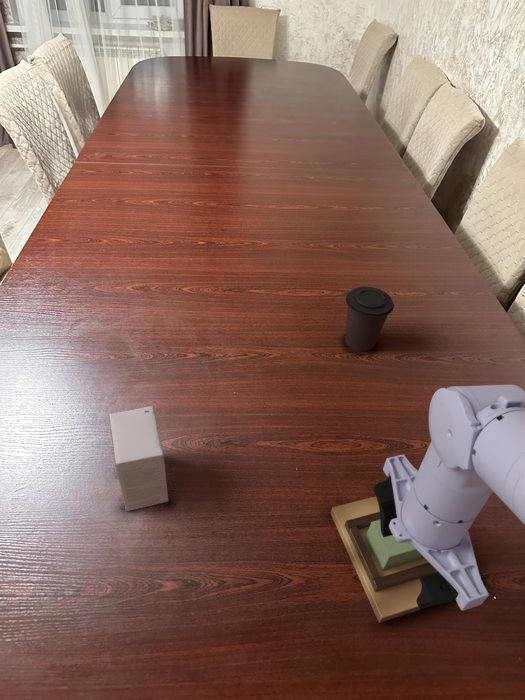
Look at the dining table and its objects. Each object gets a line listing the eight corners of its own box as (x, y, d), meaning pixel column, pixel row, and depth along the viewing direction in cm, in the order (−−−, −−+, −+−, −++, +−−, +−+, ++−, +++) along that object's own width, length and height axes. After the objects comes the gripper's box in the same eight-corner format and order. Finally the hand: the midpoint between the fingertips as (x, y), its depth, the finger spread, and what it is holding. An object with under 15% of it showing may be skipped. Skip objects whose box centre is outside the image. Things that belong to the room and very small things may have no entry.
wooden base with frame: (477, 590, 61) (485, 580, 60) (379, 623, 58) (384, 613, 56) (417, 490, 71) (423, 479, 69) (330, 513, 68) (333, 502, 66)
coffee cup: (391, 344, 93) (405, 299, 86) (362, 363, 89) (374, 318, 82) (357, 321, 97) (368, 276, 91) (328, 338, 93) (336, 293, 86)
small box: (118, 462, 71) (107, 412, 64) (159, 453, 73) (153, 403, 66) (125, 513, 66) (114, 465, 59) (169, 503, 67) (163, 454, 60)
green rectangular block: (441, 553, 63) (450, 539, 61) (382, 571, 61) (389, 557, 59) (422, 520, 66) (430, 505, 64) (365, 536, 64) (371, 521, 62)
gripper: (367, 436, 48) (343, 513, 58) (453, 588, 38) (408, 652, 47) (433, 421, 50) (400, 498, 59) (532, 563, 40) (473, 629, 49)
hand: (407, 566), depth 54 cm, fingers open, 7 cm apart
